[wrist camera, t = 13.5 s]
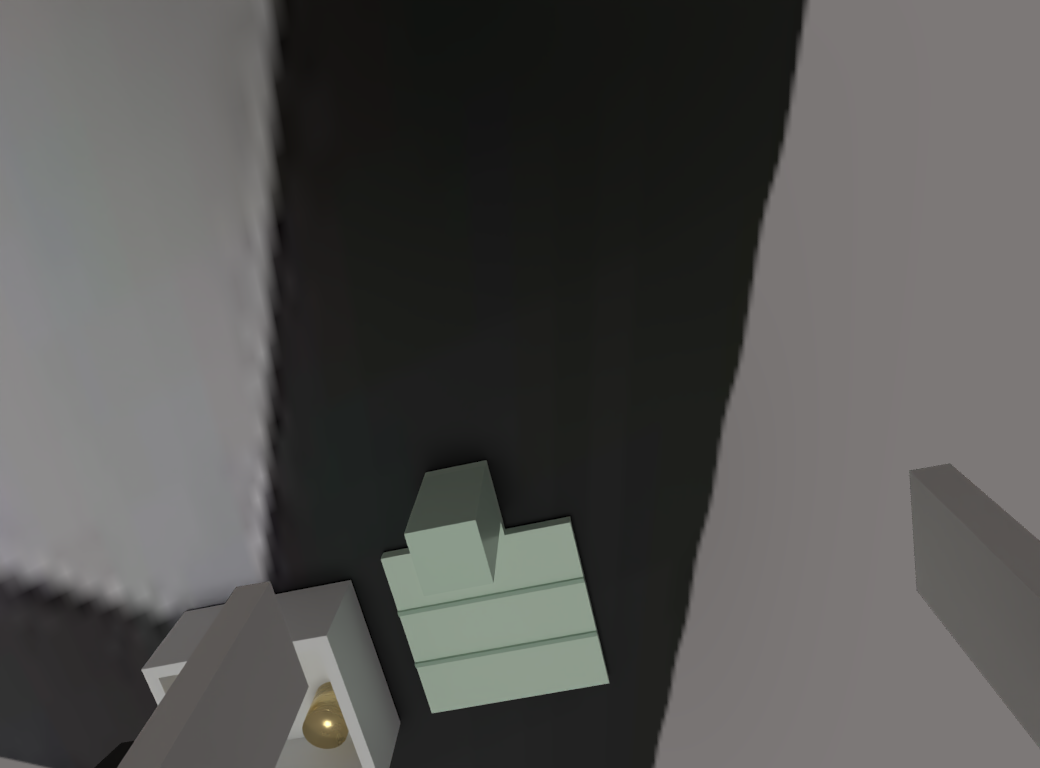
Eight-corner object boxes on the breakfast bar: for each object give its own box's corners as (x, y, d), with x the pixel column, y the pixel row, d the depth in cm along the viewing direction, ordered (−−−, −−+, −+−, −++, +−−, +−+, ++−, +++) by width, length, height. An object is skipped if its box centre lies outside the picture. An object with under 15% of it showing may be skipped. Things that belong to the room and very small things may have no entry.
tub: (184, 611, 53) (141, 669, 48) (350, 579, 52) (326, 635, 46) (243, 749, 57) (209, 818, 51) (400, 722, 56) (383, 790, 50)
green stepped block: (361, 485, 50) (328, 548, 43) (553, 446, 49) (553, 504, 41) (433, 705, 55) (415, 795, 48) (608, 675, 54) (617, 762, 47)
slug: (309, 685, 54) (296, 716, 51) (350, 677, 54) (339, 708, 51) (322, 719, 55) (310, 752, 52) (363, 712, 55) (353, 745, 52)
